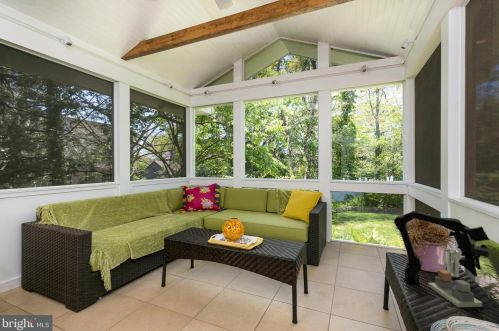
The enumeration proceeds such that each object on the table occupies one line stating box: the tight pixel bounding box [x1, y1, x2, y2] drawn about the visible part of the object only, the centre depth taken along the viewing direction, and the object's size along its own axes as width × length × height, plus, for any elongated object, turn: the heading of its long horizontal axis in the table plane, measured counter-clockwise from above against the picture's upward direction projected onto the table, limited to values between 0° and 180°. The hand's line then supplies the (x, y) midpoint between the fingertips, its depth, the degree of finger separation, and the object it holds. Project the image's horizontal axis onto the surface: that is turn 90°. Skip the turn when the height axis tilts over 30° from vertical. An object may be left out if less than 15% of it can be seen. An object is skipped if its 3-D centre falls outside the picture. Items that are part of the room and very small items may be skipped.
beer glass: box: [445, 249, 461, 278], centre depth 146 cm, size 7×7×15 cm
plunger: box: [454, 279, 471, 293], centre depth 119 cm, size 4×4×5 cm
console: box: [427, 276, 483, 308], centre depth 125 cm, size 12×19×6 cm, turn 0°
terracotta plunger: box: [437, 269, 452, 282], centre depth 130 cm, size 4×4×5 cm
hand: (477, 272), depth 121 cm, fingers open, 9 cm apart
